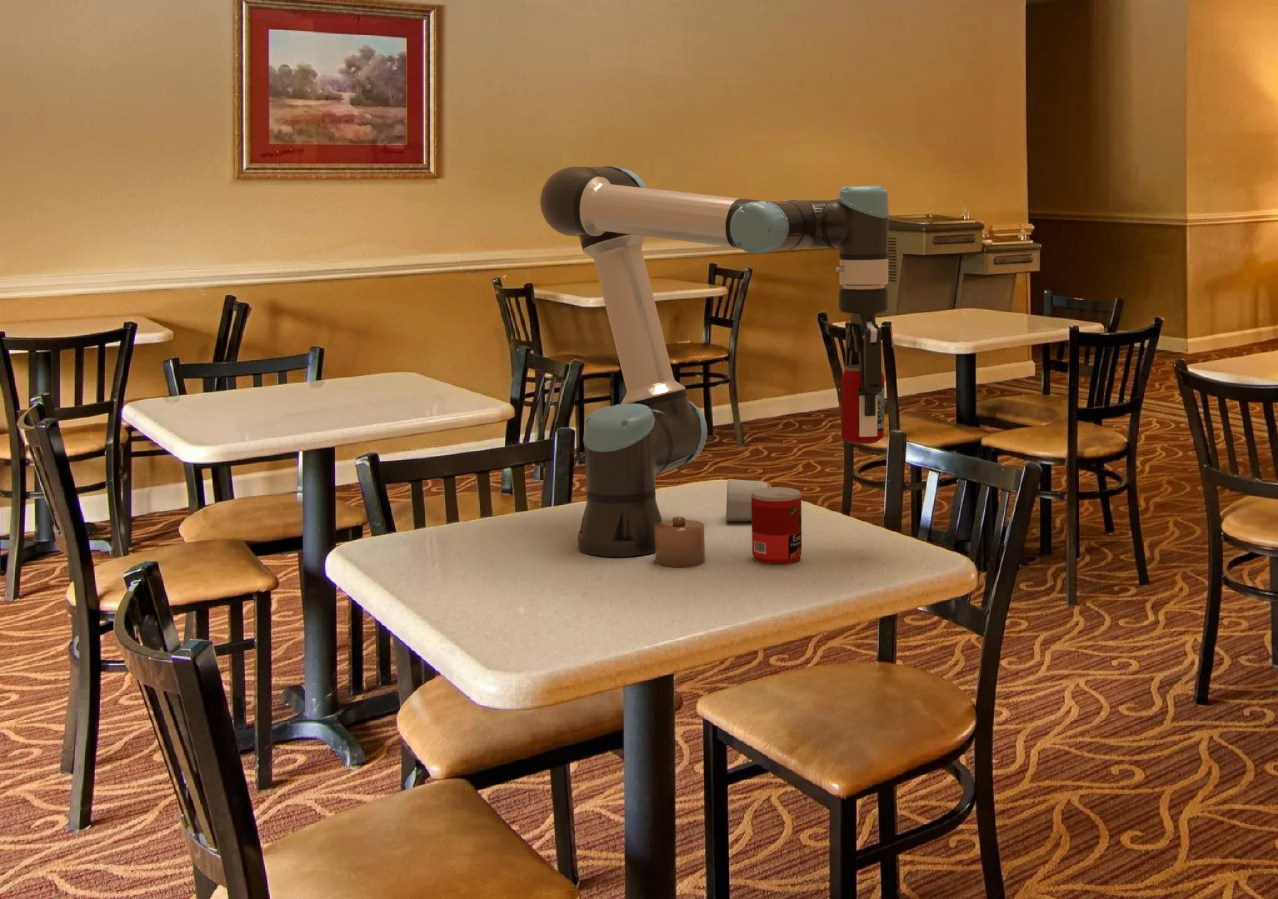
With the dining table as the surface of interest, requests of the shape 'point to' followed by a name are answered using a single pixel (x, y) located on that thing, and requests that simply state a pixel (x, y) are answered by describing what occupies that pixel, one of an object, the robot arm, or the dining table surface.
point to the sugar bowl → (679, 543)
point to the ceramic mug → (741, 499)
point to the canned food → (776, 525)
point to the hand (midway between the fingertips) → (862, 431)
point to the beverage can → (857, 408)
